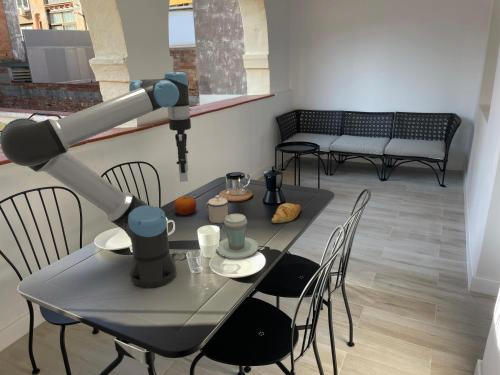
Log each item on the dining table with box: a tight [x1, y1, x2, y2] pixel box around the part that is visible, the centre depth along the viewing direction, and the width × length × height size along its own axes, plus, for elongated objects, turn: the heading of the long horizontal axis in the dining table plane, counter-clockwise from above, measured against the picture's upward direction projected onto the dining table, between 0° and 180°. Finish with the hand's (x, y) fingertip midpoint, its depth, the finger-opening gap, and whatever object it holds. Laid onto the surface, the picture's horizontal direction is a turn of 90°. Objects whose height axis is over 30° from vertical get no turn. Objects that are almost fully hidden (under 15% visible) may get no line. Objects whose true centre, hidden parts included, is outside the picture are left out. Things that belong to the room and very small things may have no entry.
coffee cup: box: [223, 213, 248, 250], centre depth 138 cm, size 9×8×12 cm
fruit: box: [173, 195, 197, 216], centre depth 175 cm, size 11×10×8 cm
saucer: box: [216, 236, 259, 259], centre depth 141 cm, size 16×16×2 cm
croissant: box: [271, 202, 302, 224], centre depth 168 cm, size 21×10×8 cm, turn 140°
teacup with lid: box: [205, 194, 229, 224], centre depth 167 cm, size 12×9×12 cm
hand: (184, 175), depth 136 cm, fingers open, 13 cm apart
